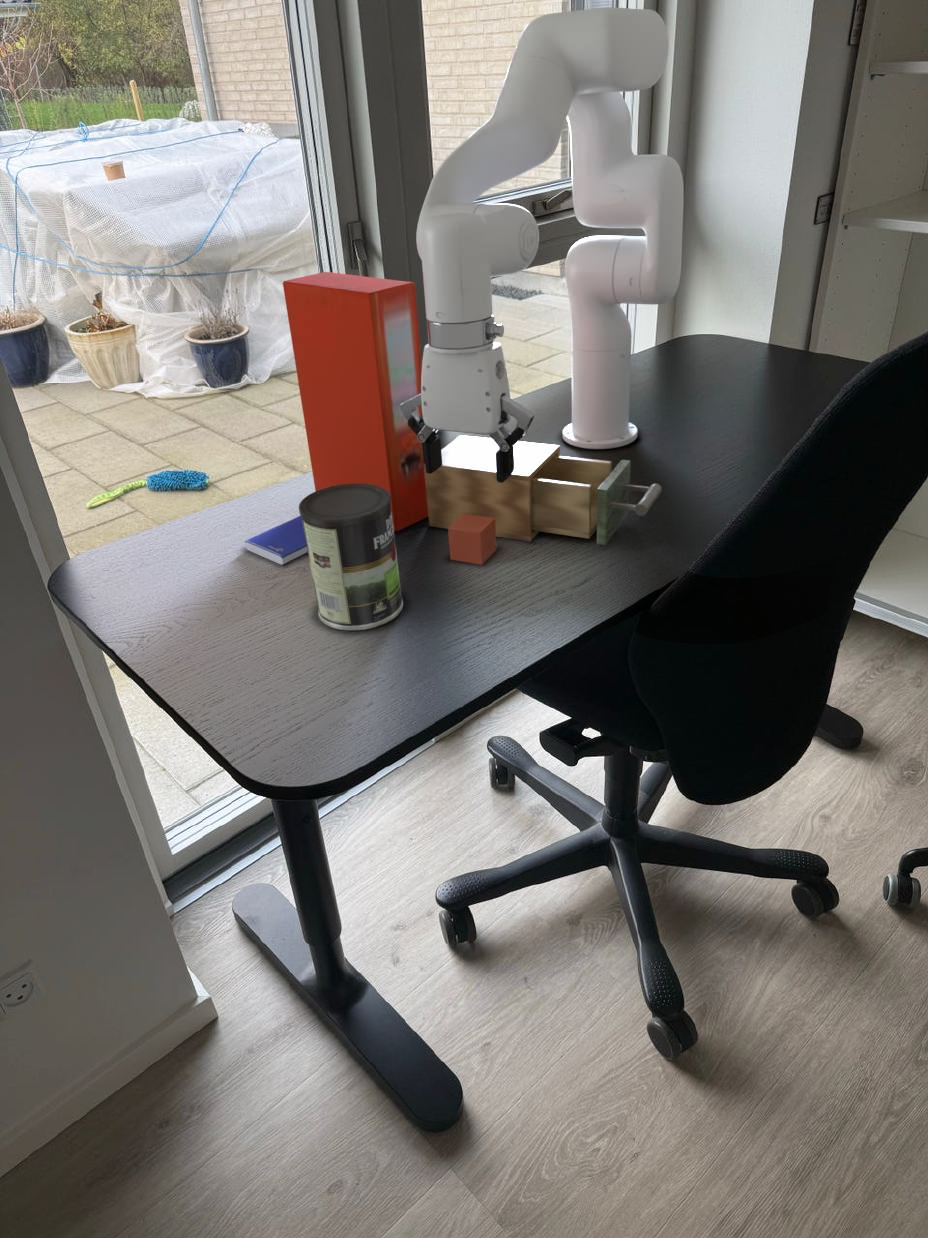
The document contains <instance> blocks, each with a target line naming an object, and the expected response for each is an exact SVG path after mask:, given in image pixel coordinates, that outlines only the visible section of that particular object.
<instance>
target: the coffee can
mask: <svg viewBox="0 0 928 1238" xmlns="http://www.w3.org/2000/svg"><path fill="white" fill-rule="evenodd" d="M298 512H299V516H301V517H302V522H303V527H304V533H305V539H306V544H307V549H308V552H307V555H308V560H309V566H310V572H311V576H312V582H313V587H314V593H315V598H316V599H315V600H316V603H317V611H318V613H317V614H318V618H319V619H320V621H321V622H322V623H323V624H324V625H325V626H328V627H330V628H332V629H336V630H339V631H340V630H341V631H347V632H348V631H349V632H352V631H366V630H371V629H375V628H378V627H380V626H383V625H386V624H388V623H389V622H391V621H393V620H395V618H396V617H398V616H399V614H400V613H401V612H402V611H403V607H404V599H403V598H402V597H403V596H402V588H401V581H400V573H399V564H398V555H397V547H396V537H395V531H394V528H393V520H392V511H391V496H390V493H389V492H388V491H387V490H385V489H384V488H382V487H379V486H376V485H371V484H360V483H354V484H342V485H336V486H331V487H327V488H324V489H321V490H318V491H313V492H311V493H310V494H308V495H306V496H305V497H304V498H303V499H302V500H301V501H300V502H299V504H298Z"/></svg>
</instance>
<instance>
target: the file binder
mask: <svg viewBox="0 0 928 1238" xmlns="http://www.w3.org/2000/svg"><path fill="white" fill-rule="evenodd" d="M282 287H283V295H284V300H285V301H284V302H285V306H286V313H287V319H288V325H289V332H290V338H291V345H292V352H293V356H294V357H293V358H294V363H295V371H296V376H297V377H296V378H297V383H298V388H299V396H300V402H301V408H302V409H301V410H302V414H303V421H304V428H305V433H306V440H307V447H308V452H309V458H310V465H311V471H312V479H313V484H314V490H315V491H314V492H316V491H318V490H321V489H324V488H327V487H331V486H336V485H342V484H354V483H360V484H371V485H376V486H379V487H382V488H384V489H385V490H387V491H388V492H389V493H390V496H391V511H392V520H393V528H394V532H399V531H401V530H403V529H405V528H407V527H410V526H411V525H414V524H416V523H418V522H420V521H422V520H424V519H426V518H429V516H428V505H427V495H426V484H425V474H424V461H423V449H422V443H421V442H419V441H418V439H417V435H416V434H415V433H414V432H413V430H412V429H411V428H410V427H409V426H408V421H407V419H406V418H405V416H404V415H403V413H402V411H401V409H400V404H401V403H403V402H405V401H406V400H408V399H410V398H412V397H414V396H416V395H418V394H420V393H421V372H422V355H421V343H420V342H421V341H420V331H419V319H418V306H417V293H416V283H415V281H405V280H397V279H390V278H389V279H388V278H380V277H373V276H363V275H356V274H355V275H354V274H348V273H338V272H331V271H323V272H319V273H314V274H310V275H305V276H300V277H296V278H291V279H287V280H283V282H282ZM416 410H417V412H418V413H417V414H418V415H419V416H421V418H422V419H423V414H422V404H421V405H420V406H418V407H417V408H416Z"/></svg>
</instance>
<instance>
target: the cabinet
mask: <svg viewBox="0 0 928 1238" xmlns="http://www.w3.org/2000/svg"><path fill="white" fill-rule="evenodd" d="M497 450H499V447H498V446H497V444H496V443H495V442H494V440H493V439H492V438H491V437H481V436H474V435H473V436H472V435H463V434H460V435H459V436H457V437H456V438H454V439H453V440H452V441H451V442H449V443H448V444H447V445H445V446H444V447H443V448H441V454H442V466H441V467H440V468H438V469H437V470H436V471H434V472H433V473H431V474H429V473H426V464H424V474H425V484H426V495H427V505H428V524H429V527H432V528H433V527H434V528H440V529H446V530H448V528H449V527H450V526H451V525H452V524H453V523H454V522H455V521H456V520H457V519H458V518H459V517H460V516H461V515H463V514H469V515H476V516H483V517H490V518H495V529H496V537H498V538H505V539H511V540H518V541H524V542H532V541H533V540H534V539H535V538H536V536H537V535H538V534H539V532H540V531H534V530H532V508H531V480H530V479H531V478H532V477H533V476H534V475H535V474H536V473H537V472H538V471H539V470H540V469H541V468H542V467H543V466H544V465H545V464H546V463H547V462H548V461H549V460H550V459H551V458H552V457H553V456H554V455H557V456H561V445H559V444H551V443H550V444H549V443H539V442H529V441H522V440H519V441H518V442H517V443H516V444H515V445H514V471H513V473H512V474H511V476H510V477H508V478H507V479H506V480H505V481H504V482H503V483H500V482H498V481H497V478H496V451H497Z"/></svg>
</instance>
